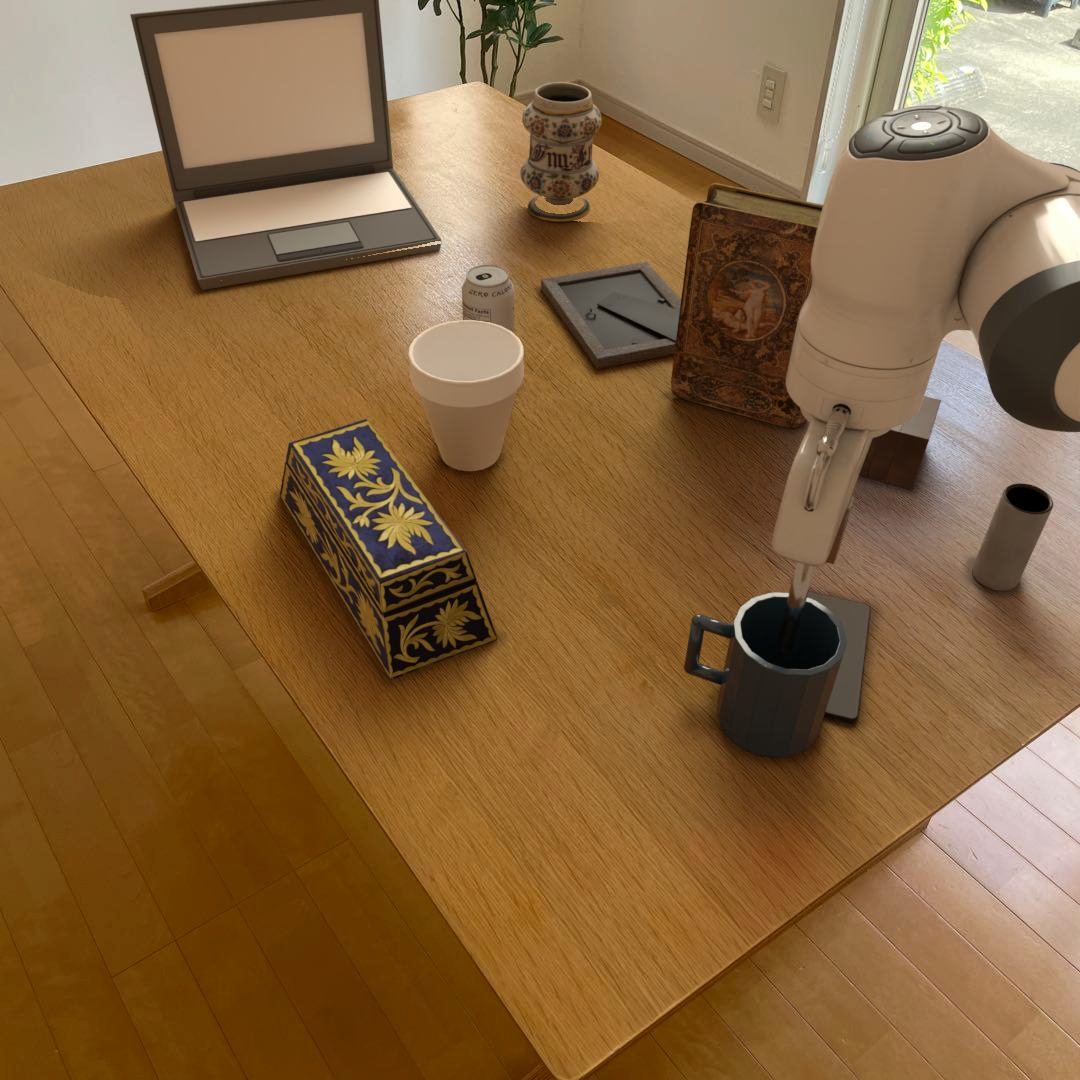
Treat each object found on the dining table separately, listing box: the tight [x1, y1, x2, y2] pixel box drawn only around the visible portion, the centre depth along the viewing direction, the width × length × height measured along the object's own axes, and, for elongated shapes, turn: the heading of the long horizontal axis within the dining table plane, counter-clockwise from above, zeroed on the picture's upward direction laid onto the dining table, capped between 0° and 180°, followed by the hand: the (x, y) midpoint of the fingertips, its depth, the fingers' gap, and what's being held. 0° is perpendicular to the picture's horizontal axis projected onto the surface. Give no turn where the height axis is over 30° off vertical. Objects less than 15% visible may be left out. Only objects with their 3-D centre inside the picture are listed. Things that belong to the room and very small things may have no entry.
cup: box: [407, 319, 525, 472], centre depth 115 cm, size 12×12×14 cm
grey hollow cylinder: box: [971, 482, 1054, 592], centre depth 103 cm, size 4×4×10 cm
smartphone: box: [807, 590, 871, 725], centre depth 98 cm, size 7×1×15 cm
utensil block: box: [858, 395, 942, 491], centre depth 117 cm, size 8×8×7 cm
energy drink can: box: [461, 264, 515, 334], centre depth 125 cm, size 6×6×15 cm
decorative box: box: [279, 418, 499, 680], centre depth 103 cm, size 11×30×9 cm, turn 30°
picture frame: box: [540, 261, 681, 370], centre depth 141 cm, size 16×2×21 cm
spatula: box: [777, 495, 855, 652], centre depth 81 cm, size 4×1×17 cm, turn 65°
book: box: [670, 182, 823, 430], centre depth 119 cm, size 16×6×25 cm, turn 65°
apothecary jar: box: [519, 81, 603, 223], centre depth 159 cm, size 12×12×18 cm
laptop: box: [129, 0, 442, 291], centre depth 150 cm, size 35×28×28 cm
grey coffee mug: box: [683, 591, 847, 759], centre depth 90 cm, size 13×9×11 cm
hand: (817, 527), depth 78 cm, fingers closed on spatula, 1 cm apart
